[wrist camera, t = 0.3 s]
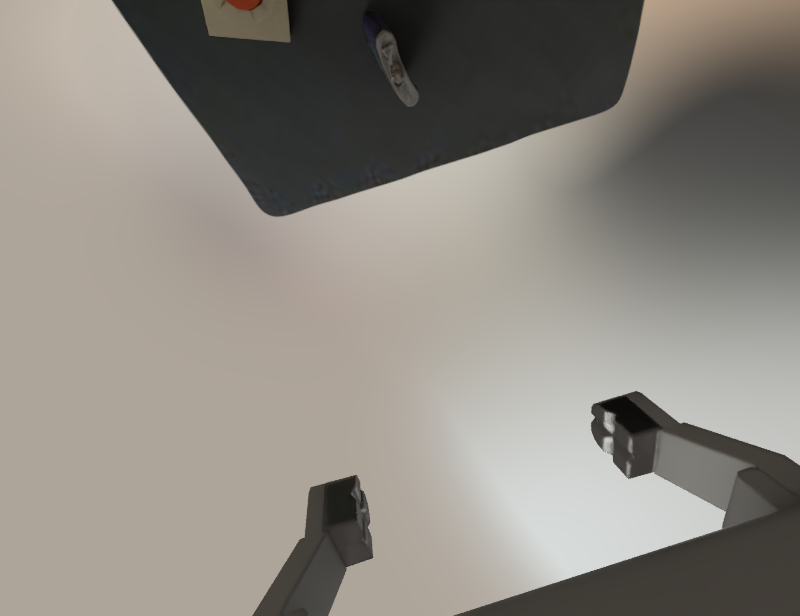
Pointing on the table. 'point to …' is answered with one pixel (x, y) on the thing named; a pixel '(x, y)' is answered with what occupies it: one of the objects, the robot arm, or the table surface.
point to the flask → (389, 57)
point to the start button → (243, 4)
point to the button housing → (248, 20)
